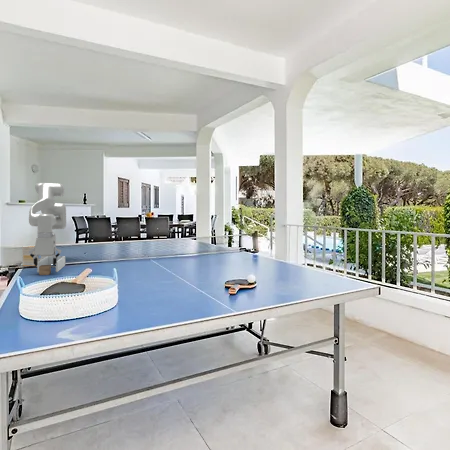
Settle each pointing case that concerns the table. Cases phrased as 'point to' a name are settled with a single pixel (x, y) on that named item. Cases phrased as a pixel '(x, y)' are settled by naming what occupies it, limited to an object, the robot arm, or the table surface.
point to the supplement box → (28, 256)
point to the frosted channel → (49, 261)
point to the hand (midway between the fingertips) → (45, 265)
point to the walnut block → (44, 269)
